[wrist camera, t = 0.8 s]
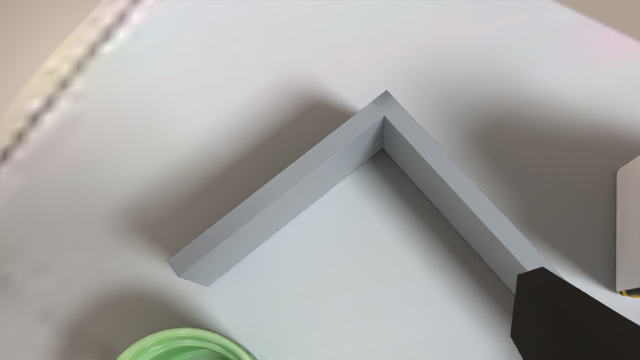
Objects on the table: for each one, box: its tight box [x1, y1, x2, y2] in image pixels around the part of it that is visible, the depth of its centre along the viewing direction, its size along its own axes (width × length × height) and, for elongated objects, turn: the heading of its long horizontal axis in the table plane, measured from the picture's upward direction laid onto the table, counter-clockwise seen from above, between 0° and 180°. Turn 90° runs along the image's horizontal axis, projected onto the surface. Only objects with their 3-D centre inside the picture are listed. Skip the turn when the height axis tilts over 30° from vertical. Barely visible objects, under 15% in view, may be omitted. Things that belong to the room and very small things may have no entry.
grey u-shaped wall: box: [167, 90, 565, 295], centre depth 27 cm, size 14×21×5 cm, turn 38°
